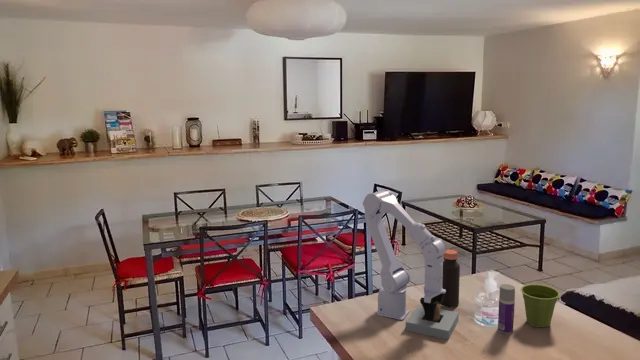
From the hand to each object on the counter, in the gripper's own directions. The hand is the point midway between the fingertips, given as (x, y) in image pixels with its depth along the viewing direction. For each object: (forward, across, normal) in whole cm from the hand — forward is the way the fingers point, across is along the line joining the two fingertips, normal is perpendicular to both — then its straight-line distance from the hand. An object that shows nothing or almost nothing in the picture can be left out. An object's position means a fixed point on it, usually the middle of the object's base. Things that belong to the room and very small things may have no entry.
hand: (432, 314), depth 159 cm
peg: (+3, 0, 0) cm, 3 cm away
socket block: (+4, 0, 0) cm, 4 cm away
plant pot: (+4, +17, -31) cm, 36 cm away
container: (+4, +7, -22) cm, 23 cm away
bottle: (+4, +19, -1) cm, 19 cm away
